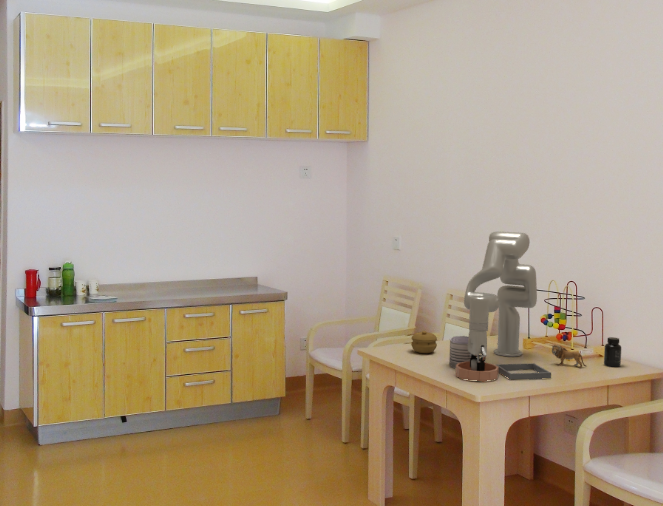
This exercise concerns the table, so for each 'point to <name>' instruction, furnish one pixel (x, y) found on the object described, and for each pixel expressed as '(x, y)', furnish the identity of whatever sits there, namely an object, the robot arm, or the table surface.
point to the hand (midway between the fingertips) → (477, 369)
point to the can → (458, 350)
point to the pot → (424, 342)
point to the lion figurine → (567, 355)
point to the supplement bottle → (612, 353)
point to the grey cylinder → (474, 364)
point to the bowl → (477, 372)
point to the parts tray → (540, 375)
